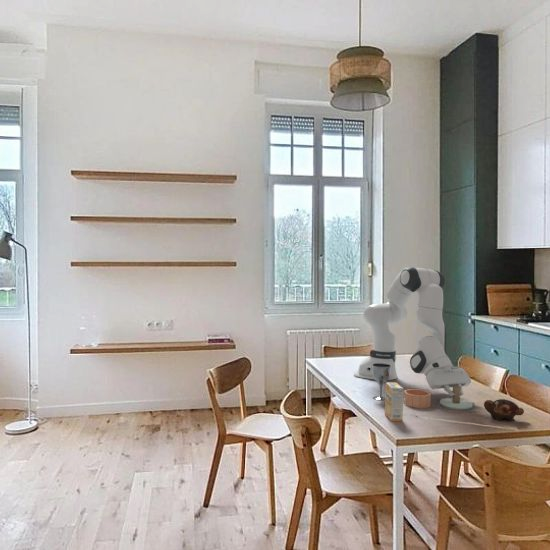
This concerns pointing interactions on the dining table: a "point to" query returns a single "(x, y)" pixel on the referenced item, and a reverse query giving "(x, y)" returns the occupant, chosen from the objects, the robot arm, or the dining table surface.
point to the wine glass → (381, 376)
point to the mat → (455, 409)
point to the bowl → (417, 398)
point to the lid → (456, 401)
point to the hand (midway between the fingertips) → (457, 395)
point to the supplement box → (394, 401)
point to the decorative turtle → (503, 409)
